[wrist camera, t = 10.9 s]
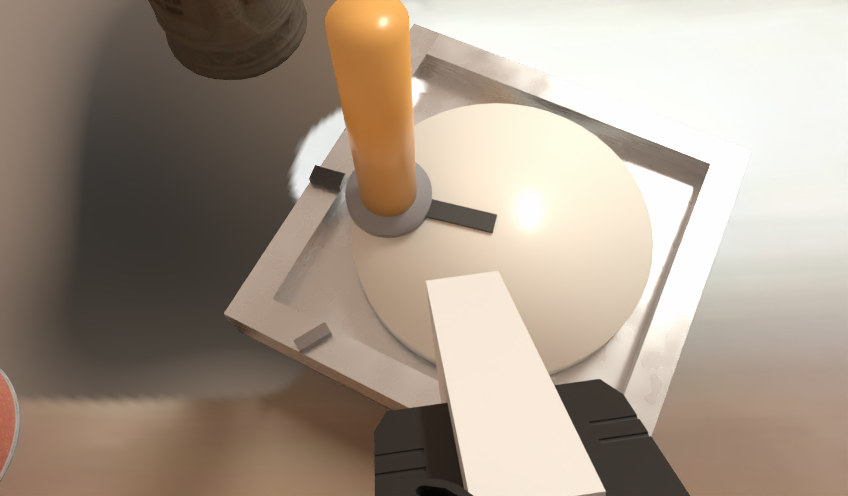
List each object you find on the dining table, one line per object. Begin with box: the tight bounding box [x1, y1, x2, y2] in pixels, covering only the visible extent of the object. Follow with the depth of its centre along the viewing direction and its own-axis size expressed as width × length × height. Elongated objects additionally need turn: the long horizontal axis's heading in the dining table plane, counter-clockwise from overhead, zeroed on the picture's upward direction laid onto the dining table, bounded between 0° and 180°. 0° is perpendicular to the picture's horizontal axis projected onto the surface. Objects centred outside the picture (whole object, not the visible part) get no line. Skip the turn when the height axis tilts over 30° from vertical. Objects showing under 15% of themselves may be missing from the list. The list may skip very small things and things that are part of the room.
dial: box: [325, 0, 654, 375], centre depth 33 cm, size 19×18×16 cm
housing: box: [224, 24, 751, 436], centre depth 41 cm, size 24×24×4 cm
